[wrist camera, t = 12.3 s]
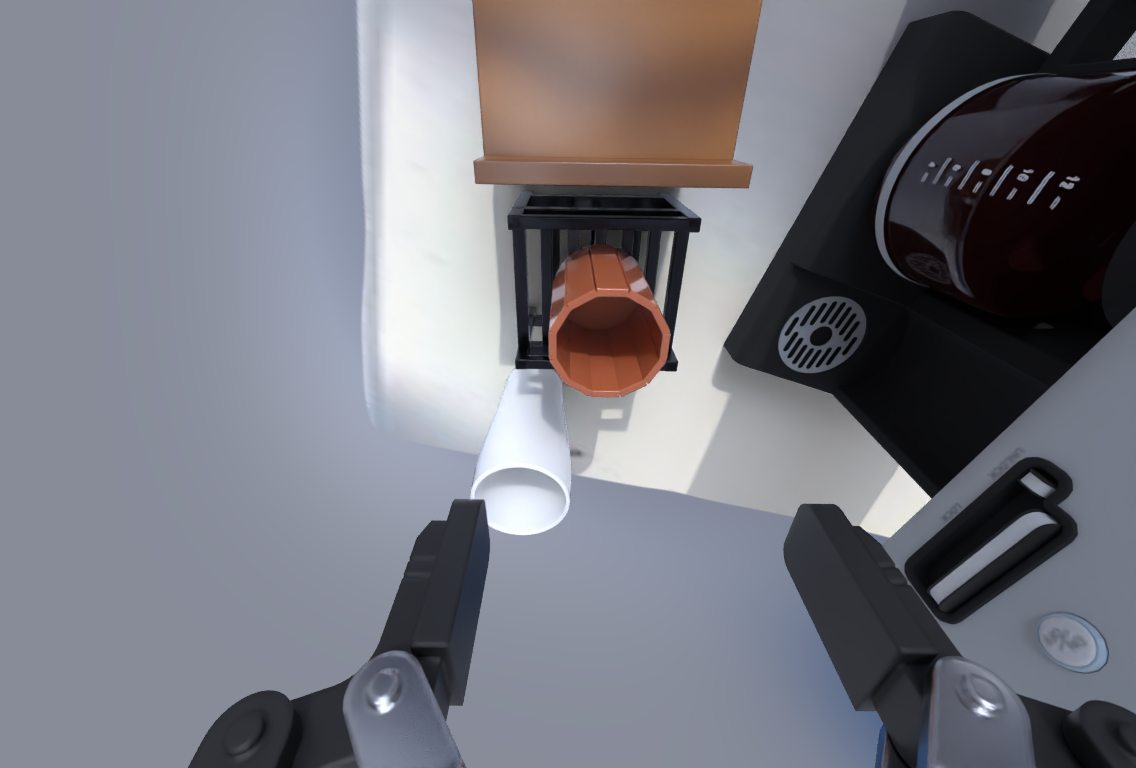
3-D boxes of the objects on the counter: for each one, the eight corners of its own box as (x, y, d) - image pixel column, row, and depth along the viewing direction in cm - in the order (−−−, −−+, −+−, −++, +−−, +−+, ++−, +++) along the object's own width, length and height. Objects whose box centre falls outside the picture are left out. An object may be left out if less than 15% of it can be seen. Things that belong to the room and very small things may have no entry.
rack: (522, 190, 33) (507, 215, 25) (668, 193, 33) (702, 218, 25) (526, 315, 38) (515, 369, 30) (653, 317, 38) (676, 371, 30)
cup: (553, 242, 28) (548, 288, 20) (648, 244, 28) (677, 289, 20) (553, 330, 31) (549, 396, 23) (639, 331, 31) (661, 398, 24)
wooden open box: (497, -24, 27) (448, -123, 16) (711, -20, 27) (812, -115, 16) (507, 160, 32) (475, 184, 21) (686, 163, 32) (748, 188, 21)
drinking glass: (492, 357, 40) (456, 469, 27) (565, 348, 40) (564, 458, 27) (506, 416, 44) (481, 541, 31) (574, 409, 43) (577, 533, 31)
